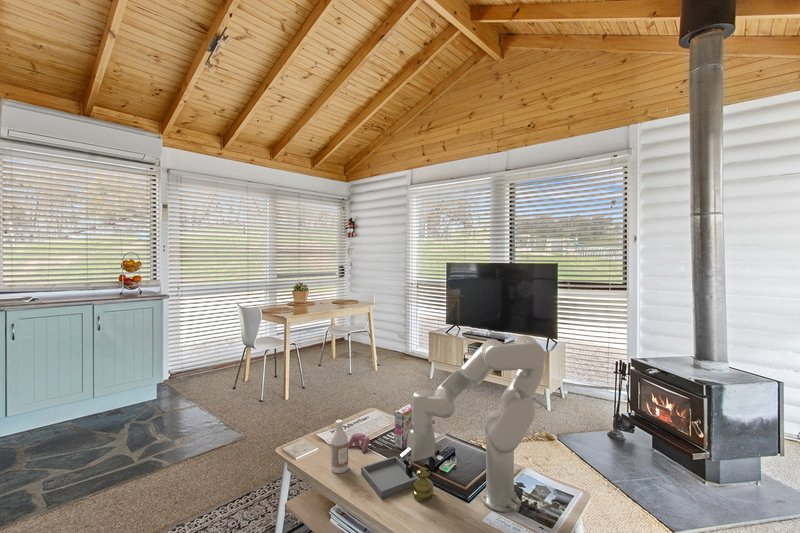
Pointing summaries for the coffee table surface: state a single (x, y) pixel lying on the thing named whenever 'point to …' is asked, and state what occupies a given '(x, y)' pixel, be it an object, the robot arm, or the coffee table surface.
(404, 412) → the candy bar box
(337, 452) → the bath foam
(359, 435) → the pink lumpy piece
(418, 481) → the salt shaker
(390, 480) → the tray
